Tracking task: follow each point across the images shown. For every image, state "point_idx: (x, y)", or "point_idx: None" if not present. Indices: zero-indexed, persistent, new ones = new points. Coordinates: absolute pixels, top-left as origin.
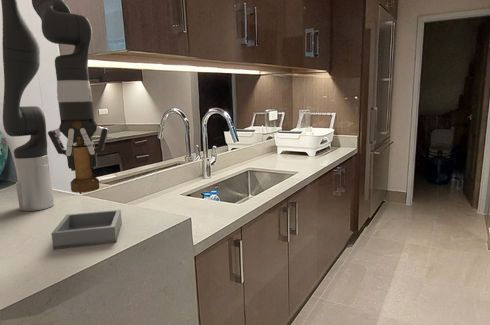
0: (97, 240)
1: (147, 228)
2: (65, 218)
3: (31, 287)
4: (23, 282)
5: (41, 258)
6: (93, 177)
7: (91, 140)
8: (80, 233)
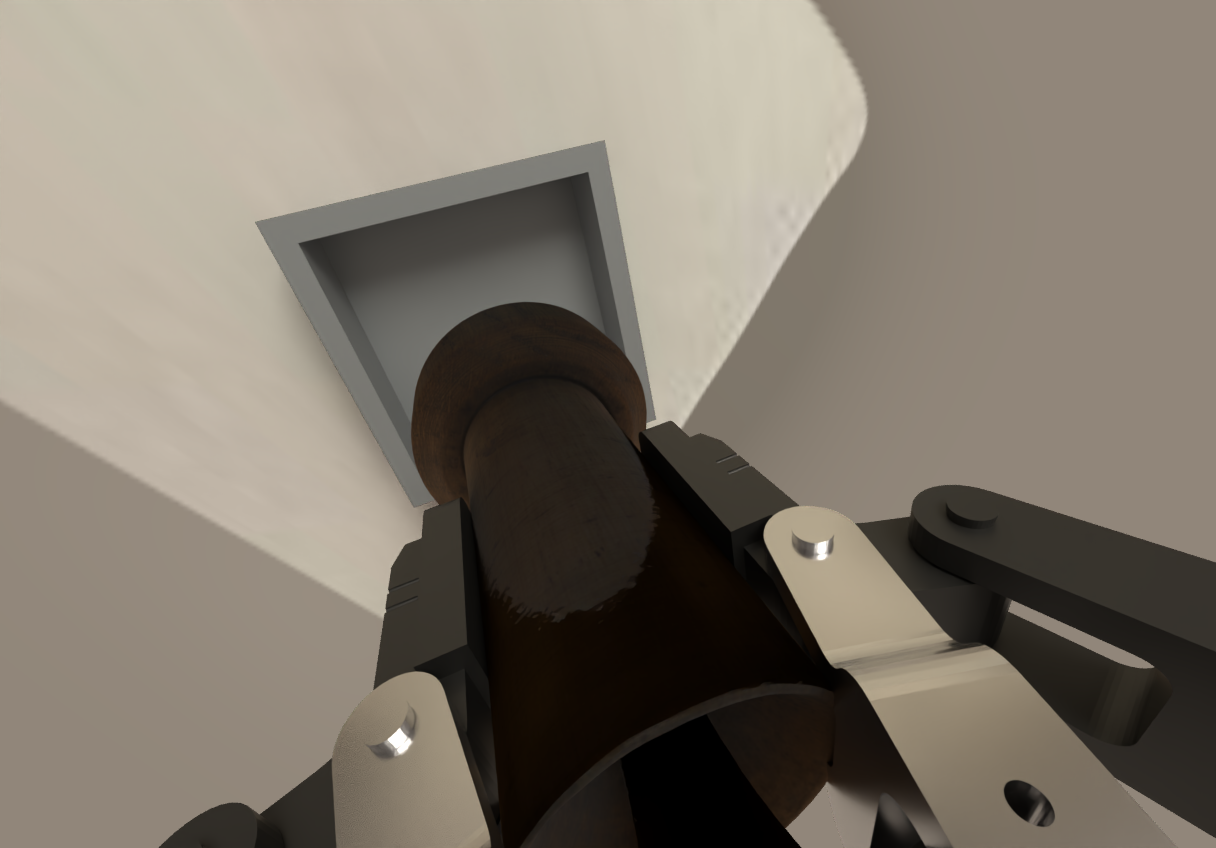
0: None
1: (717, 249)
2: (317, 307)
3: None
4: None
5: None
6: (619, 421)
7: (1026, 780)
8: None
